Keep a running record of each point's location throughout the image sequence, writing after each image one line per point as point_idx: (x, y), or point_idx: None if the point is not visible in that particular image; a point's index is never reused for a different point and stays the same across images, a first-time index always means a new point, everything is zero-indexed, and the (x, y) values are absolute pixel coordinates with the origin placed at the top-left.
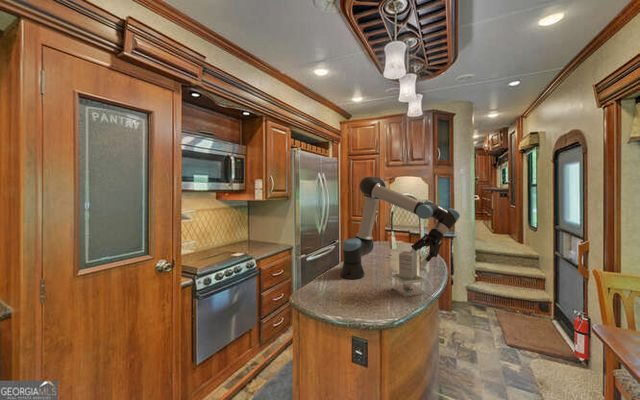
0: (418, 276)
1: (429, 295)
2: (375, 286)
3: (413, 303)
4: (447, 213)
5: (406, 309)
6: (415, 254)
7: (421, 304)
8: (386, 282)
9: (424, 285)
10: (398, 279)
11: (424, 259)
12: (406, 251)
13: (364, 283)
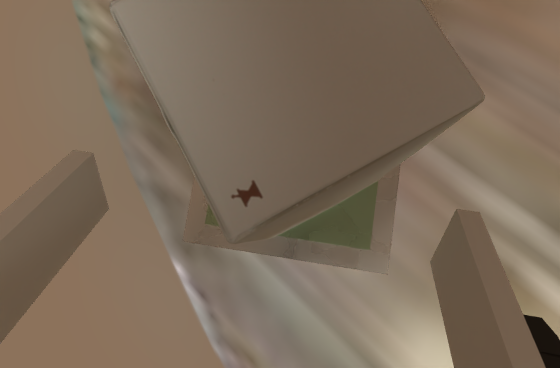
0: (258, 244)
1: (184, 250)
2: (463, 39)
3: (143, 83)
4: None
5: (107, 5)
6: (200, 182)
7: (113, 113)
8: (505, 151)
9: (337, 362)
10: None
11: (17, 204)
12: (427, 123)
13: (547, 3)
